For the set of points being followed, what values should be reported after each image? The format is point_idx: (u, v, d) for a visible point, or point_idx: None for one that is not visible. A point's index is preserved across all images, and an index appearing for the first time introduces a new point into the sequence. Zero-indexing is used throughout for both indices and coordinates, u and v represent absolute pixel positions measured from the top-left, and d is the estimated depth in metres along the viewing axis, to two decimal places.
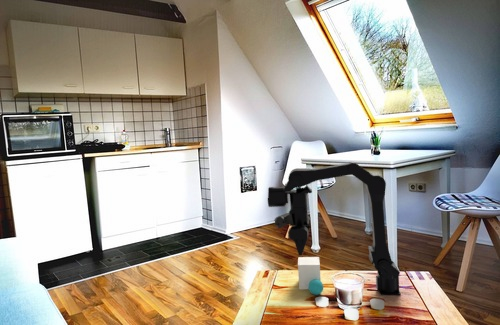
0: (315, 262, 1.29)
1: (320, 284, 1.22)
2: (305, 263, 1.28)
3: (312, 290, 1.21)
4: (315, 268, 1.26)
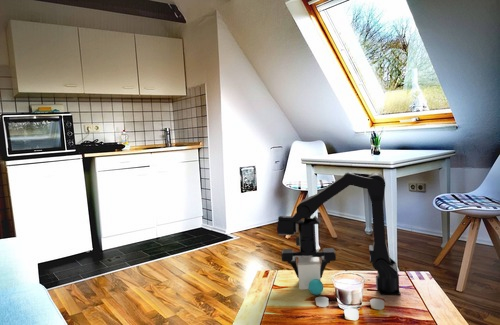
0: (315, 262, 1.29)
1: (320, 284, 1.22)
2: (305, 263, 1.28)
3: (312, 290, 1.21)
4: (315, 268, 1.26)
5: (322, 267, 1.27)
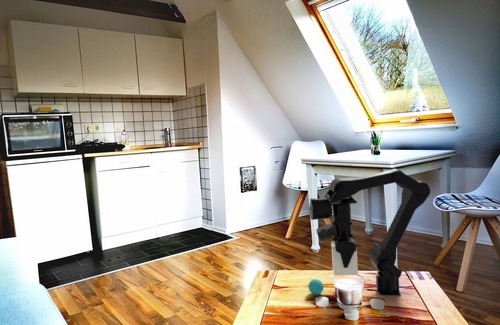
0: None
1: (320, 284, 1.22)
2: None
3: (312, 290, 1.21)
4: None
5: None
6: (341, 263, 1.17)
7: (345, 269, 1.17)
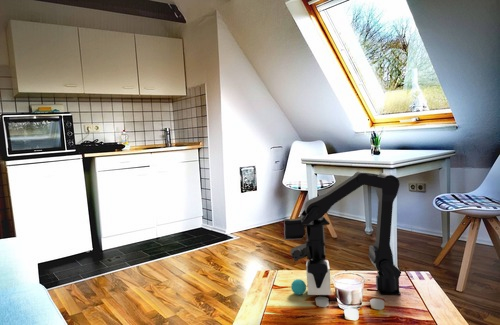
0: None
1: (292, 287, 1.23)
2: None
3: (301, 291, 1.22)
4: None
5: None
6: (314, 283, 1.19)
7: (318, 289, 1.19)
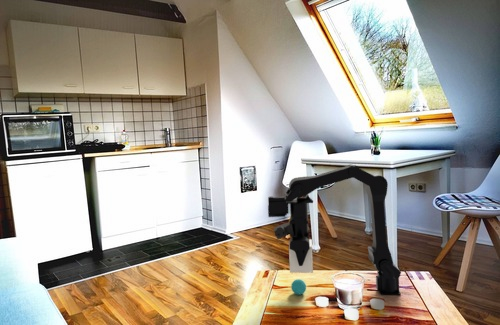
0: None
1: (292, 287, 1.23)
2: None
3: (301, 291, 1.22)
4: None
5: None
6: (297, 261, 1.19)
7: (301, 267, 1.19)
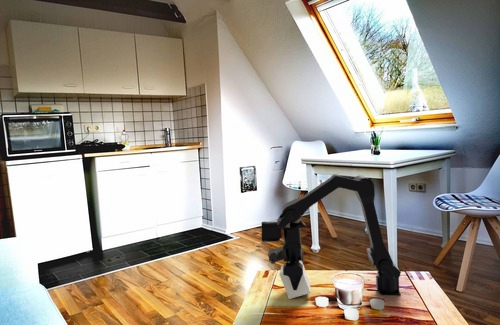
0: None
1: None
2: None
3: None
4: (302, 264, 1.26)
5: None
6: None
7: (297, 290, 1.21)
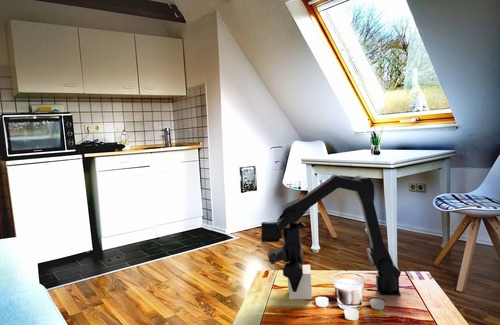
0: None
1: None
2: (306, 270, 1.22)
3: None
4: None
5: None
6: None
7: (300, 293, 1.21)
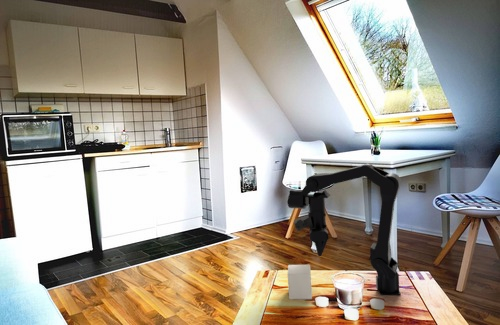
0: (302, 266, 1.26)
1: None
2: (306, 270, 1.22)
3: None
4: None
5: None
6: (296, 287, 1.21)
7: (299, 293, 1.21)
